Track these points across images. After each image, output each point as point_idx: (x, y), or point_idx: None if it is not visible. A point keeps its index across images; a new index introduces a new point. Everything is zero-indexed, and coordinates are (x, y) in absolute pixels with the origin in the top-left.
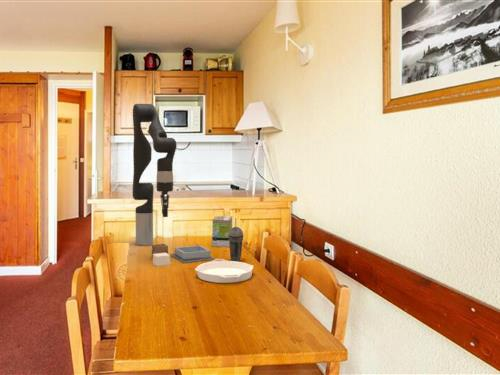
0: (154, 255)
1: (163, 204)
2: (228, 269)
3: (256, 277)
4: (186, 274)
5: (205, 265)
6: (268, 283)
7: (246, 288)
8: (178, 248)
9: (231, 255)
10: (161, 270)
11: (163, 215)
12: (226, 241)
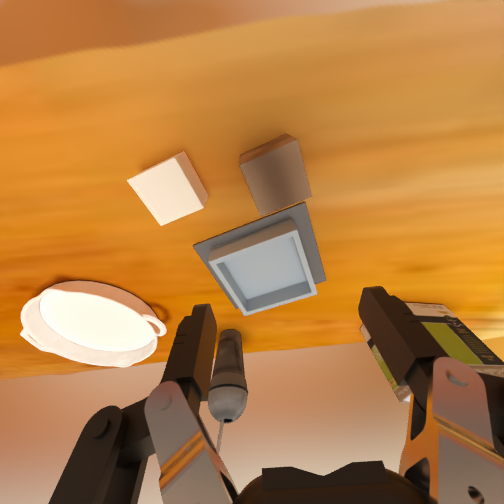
0: (154, 167)
1: (65, 483)
2: (146, 326)
3: None
4: (80, 258)
5: (122, 302)
6: (78, 364)
7: (32, 344)
8: (294, 240)
9: (222, 341)
10: (96, 191)
11: (193, 316)
12: (369, 335)
